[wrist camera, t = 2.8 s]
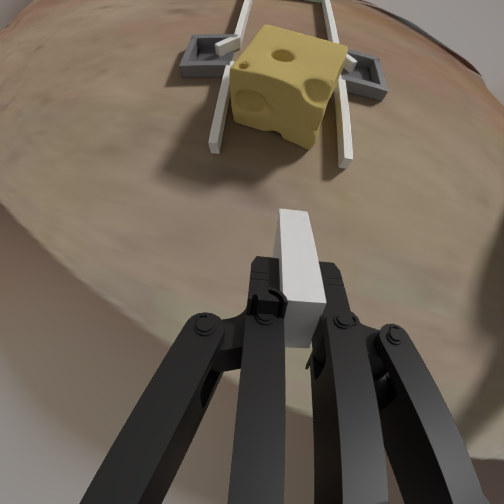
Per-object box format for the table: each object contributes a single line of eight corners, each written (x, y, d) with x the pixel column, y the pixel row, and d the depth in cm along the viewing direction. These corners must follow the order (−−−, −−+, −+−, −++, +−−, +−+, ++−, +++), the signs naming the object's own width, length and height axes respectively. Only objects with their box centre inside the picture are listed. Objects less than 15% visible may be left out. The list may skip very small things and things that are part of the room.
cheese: (311, 153, 31) (332, 101, 21) (227, 123, 31) (221, 67, 21) (331, 97, 32) (351, 46, 22) (259, 72, 33) (261, 19, 23)
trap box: (355, 9, 37) (357, 1, 35) (392, 178, 30) (402, 170, 28) (218, -7, 37) (218, -16, 35) (159, 151, 31) (153, 141, 28)
